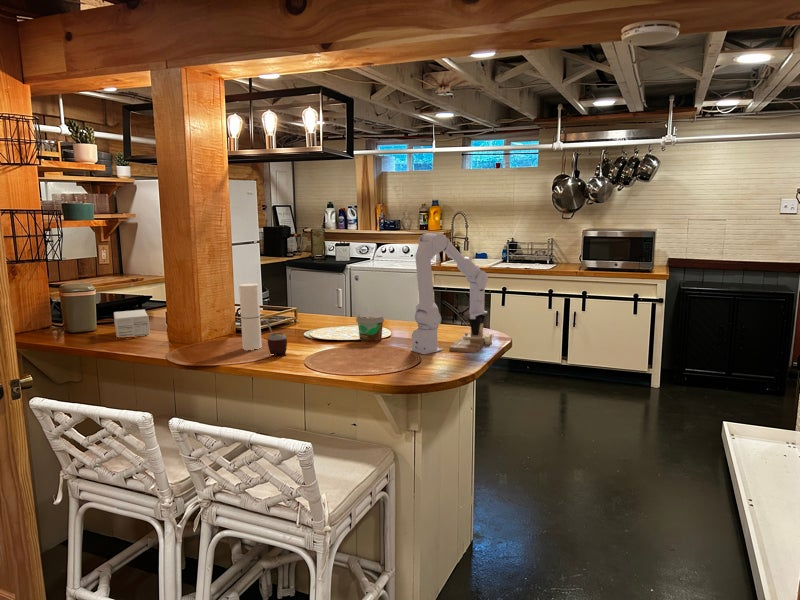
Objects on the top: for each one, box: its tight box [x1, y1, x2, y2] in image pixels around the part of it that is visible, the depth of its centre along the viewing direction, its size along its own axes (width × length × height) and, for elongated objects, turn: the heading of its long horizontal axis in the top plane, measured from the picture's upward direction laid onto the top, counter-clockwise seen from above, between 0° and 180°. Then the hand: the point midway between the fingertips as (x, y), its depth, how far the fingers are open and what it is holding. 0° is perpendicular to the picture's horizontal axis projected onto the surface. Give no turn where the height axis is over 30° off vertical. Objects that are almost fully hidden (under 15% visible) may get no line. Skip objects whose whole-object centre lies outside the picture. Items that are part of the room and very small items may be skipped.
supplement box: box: [113, 309, 151, 338], centre depth 255 cm, size 17×13×9 cm
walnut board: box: [449, 336, 486, 354], centre depth 226 cm, size 20×10×2 cm, turn 159°
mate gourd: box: [261, 317, 288, 358], centre depth 214 cm, size 8×8×15 cm
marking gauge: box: [462, 322, 493, 346], centre depth 230 cm, size 6×11×7 cm, turn 69°
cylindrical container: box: [238, 283, 263, 351], centre depth 225 cm, size 7×7×25 cm
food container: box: [355, 314, 385, 343], centre depth 236 cm, size 12×6×10 cm, turn 62°
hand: (476, 333), depth 231 cm, fingers closed on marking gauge, 4 cm apart
